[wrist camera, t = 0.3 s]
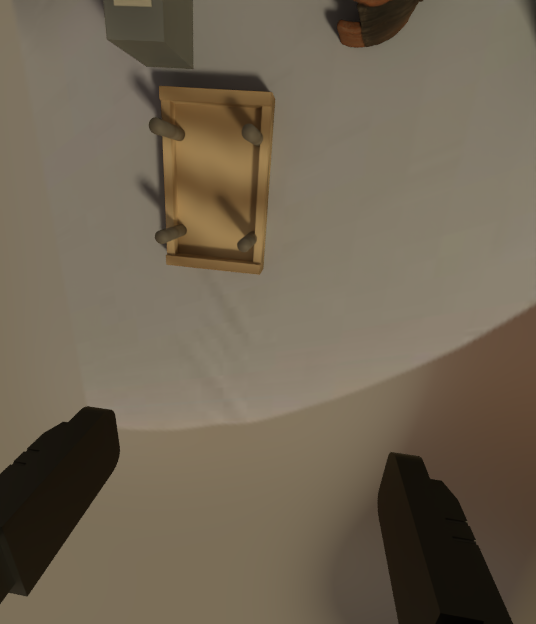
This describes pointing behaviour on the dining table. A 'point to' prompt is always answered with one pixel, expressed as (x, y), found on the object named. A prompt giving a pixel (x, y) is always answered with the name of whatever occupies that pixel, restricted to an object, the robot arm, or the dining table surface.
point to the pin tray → (215, 176)
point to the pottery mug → (376, 22)
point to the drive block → (152, 30)
